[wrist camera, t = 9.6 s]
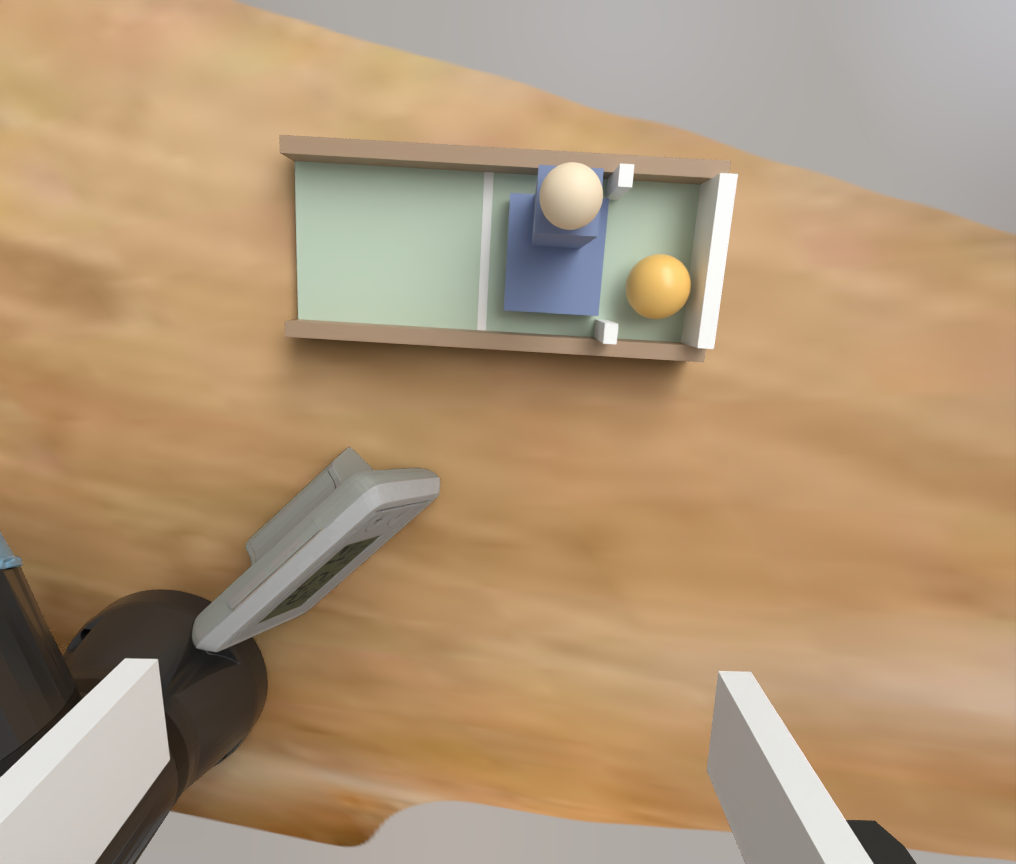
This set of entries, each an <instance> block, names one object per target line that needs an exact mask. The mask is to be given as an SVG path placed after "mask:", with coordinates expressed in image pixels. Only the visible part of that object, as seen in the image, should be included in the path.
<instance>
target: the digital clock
mask: <svg viewBox="0 0 1016 864" xmlns="http://www.w3.org/2000/svg"><path fill="white" fill-rule="evenodd" d="M439 492H440V478H439V477H438V476H437V475H436V474H435V473H434V472H432V471H430V470H427V469H423V468H404V469H388V470H373V469H372V468H371V467H370V466H369V465H368V464H367V463H366V462H365V461H364V460H363V459H362V458H361V457H360V456H359V455H358V454H357V453H356V452H355V451H354V450H353V449H352V448H350V447H348V448H347V449H346V450H345V451H343V452H342V453H341V454H340V455H339V456H338V457H337V458H336V459H335V460H334V461H332V462H331V463H330V464H329V465H328V466H327V467H326V468H325V469H324V470H323V471H322V472H321V473H320V474H319V475H317V476H316V477H315V478H314V479H313V480H312V481H311V482H310V483H309V484H308V485H307V486H306V487H305V488H304V489H302V490H301V491H300V492H299V493H298V494H297V495H296V496H295V497H294V498H293V499H292V500H291V501H290V502H288V503H287V504H286V505H285V506H284V507H283V508H282V509H281V510H280V511H279V512H278V513H277V514H276V515H275V516H273V517H272V518H271V519H270V520H269V521H268V522H267V523H266V524H265V525H264V526H263V527H262V528H261V529H259V530H258V531H257V532H256V533H255V534H254V535H253V536H252V537H251V538H250V539H249V540H248V542H247V543H246V550H247V552H248V554H249V556H250V559H251V567H250V568H249V569H248V570H246V571H245V572H244V573H243V574H242V575H241V576H240V577H239V578H238V579H237V580H236V581H234V582H233V583H232V584H231V585H230V586H229V587H228V588H227V589H226V590H225V591H224V592H222V593H221V594H220V595H219V596H218V597H217V598H216V599H215V600H214V601H213V602H212V603H211V604H210V605H208V606H207V607H206V608H205V609H204V610H203V611H202V612H201V613H200V614H199V615H198V616H197V617H196V619H195V621H194V625H193V629H192V640H193V643H194V645H195V646H196V648H198V649H202V650H207V651H212V652H218V651H221V650H223V649H226V648H228V647H231V646H233V645H235V644H237V643H240V642H242V641H244V640H246V639H249V638H251V637H253V636H255V635H258V634H260V633H262V632H264V631H267V630H269V629H271V628H273V627H276V626H278V625H280V624H282V623H285V622H287V621H289V620H291V619H294V618H296V617H298V616H300V615H302V614H303V613H305V612H307V611H308V610H309V609H311V608H312V607H313V606H314V605H315V604H316V603H318V602H319V601H320V600H321V599H322V598H323V597H324V596H326V595H327V594H328V593H329V592H330V591H331V590H332V589H334V588H335V587H336V586H337V585H338V584H339V583H340V582H342V581H343V580H344V579H345V578H346V577H347V576H348V575H350V574H351V573H352V572H353V571H354V570H355V569H356V568H358V567H359V566H360V565H361V564H362V563H363V562H364V561H366V560H367V559H368V558H369V557H370V556H371V555H372V554H374V553H375V552H376V551H377V550H378V549H379V548H380V547H381V546H383V545H384V544H385V543H386V542H387V541H388V540H389V539H391V538H392V537H393V536H394V535H395V534H396V533H397V532H399V531H400V530H401V529H402V528H403V527H404V526H405V525H407V524H408V523H409V522H410V521H411V520H412V519H413V518H415V517H416V516H417V515H418V514H419V513H420V512H421V511H422V510H424V509H425V508H426V507H427V506H428V505H429V504H430V503H431V502H433V501H434V500H435V499H436V498H437V497H438V496H439Z"/></svg>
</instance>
